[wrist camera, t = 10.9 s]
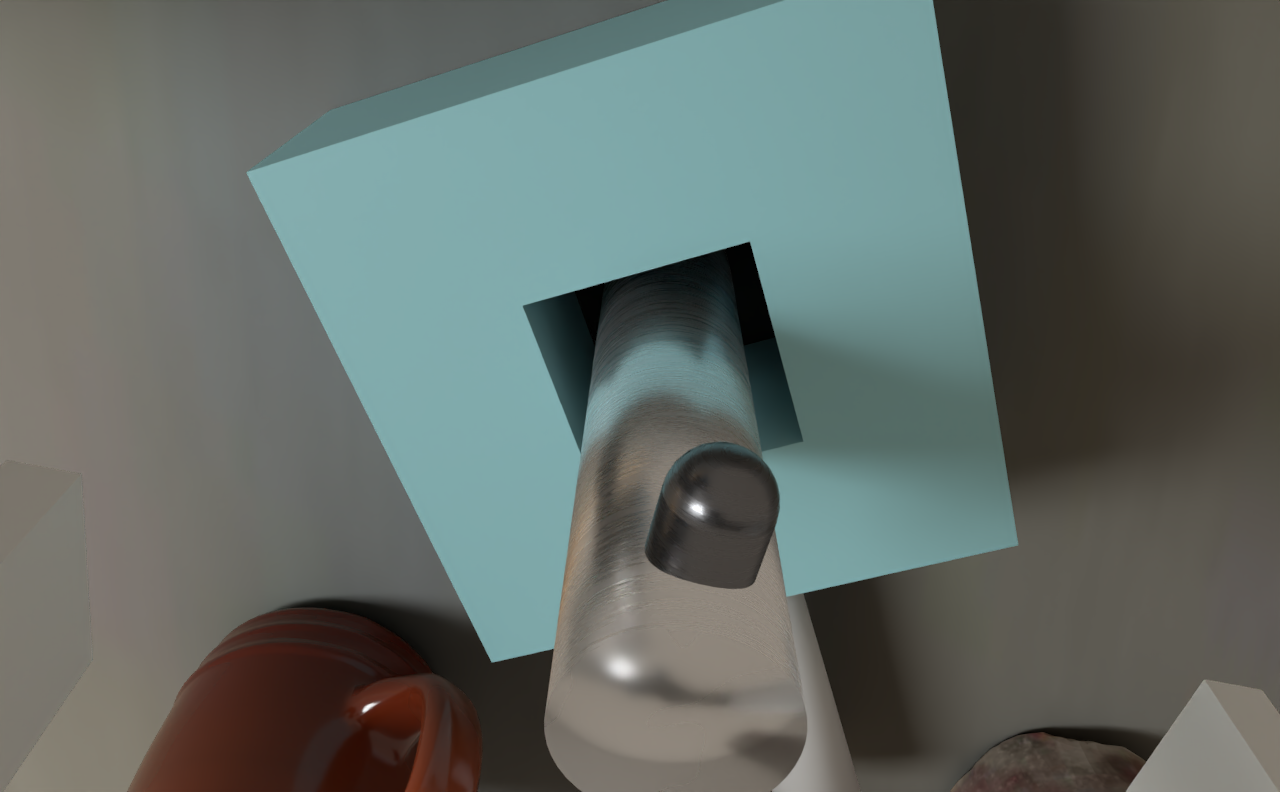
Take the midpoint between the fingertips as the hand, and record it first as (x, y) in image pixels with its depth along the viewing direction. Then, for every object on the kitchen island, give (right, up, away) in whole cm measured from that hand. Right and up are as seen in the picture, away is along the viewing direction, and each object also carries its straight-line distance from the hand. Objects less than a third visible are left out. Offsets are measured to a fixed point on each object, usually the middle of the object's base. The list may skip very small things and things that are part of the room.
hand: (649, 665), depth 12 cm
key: (+1, +6, +12) cm, 13 cm away
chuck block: (+2, +2, +14) cm, 14 cm away
